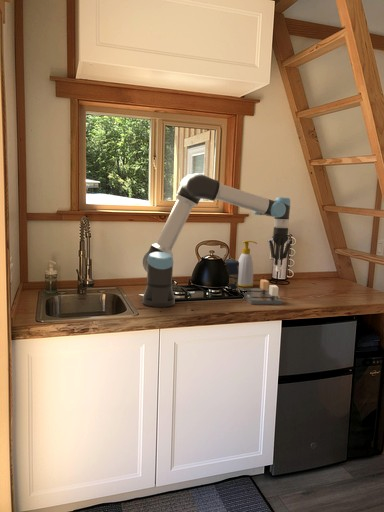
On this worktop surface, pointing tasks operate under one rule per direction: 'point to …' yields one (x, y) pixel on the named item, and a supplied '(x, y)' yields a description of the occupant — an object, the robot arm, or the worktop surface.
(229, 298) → the worktop surface
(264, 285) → the block
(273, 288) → the block
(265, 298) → the console
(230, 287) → the canister
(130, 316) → the worktop surface
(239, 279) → the soap bottle
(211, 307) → the worktop surface
